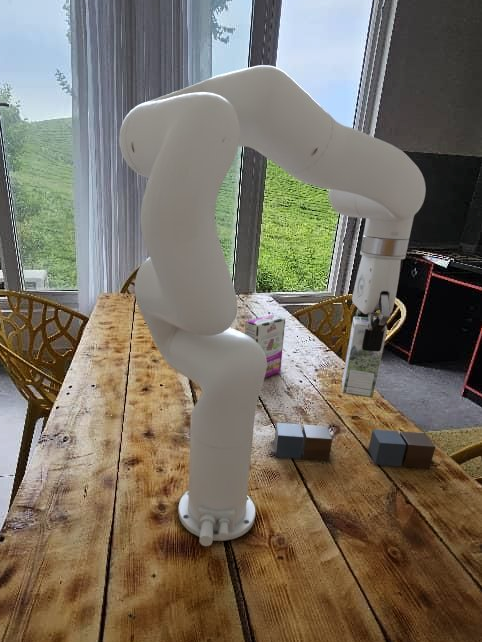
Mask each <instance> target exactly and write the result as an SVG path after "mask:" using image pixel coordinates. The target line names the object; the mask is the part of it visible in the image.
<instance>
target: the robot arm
mask: <svg viewBox="0 0 482 642" xmlns="http://www.w3.org/2000/svg"><path fill="white" fill-rule="evenodd" d="M118 137H119V138H118V139H119V141H118V142H119V148H120V152H121V155H122V158H123V159H124V161H125V163H126V164H127V166H128V167H129V168H130V169H131V170H132V171H133V172H135V173H136V174H137V175H139V176H141V177H144V178H147V179H148V180H147V182H146V186H145V190H144V193H143V198H142V202H141V208H140V228H141V233H142V238H143V242H144V244H145V248H146V250H147V253H148V255H149V257H147V258H146V259H145V260H144V261H143V262H142V264H141V265H140V267H139V268H138V270H137V272H136V276H135V280H134V297H135V301H136V304H137V307H138V309H139V312H140V314H141V316H142V318H143V320H144V322H145V324H146V327H147V329H148V331H149V334H151V337H152V339H153V342H154V344H155V346H156V348H157V350H158V352H159V353H160V356H161V357H162V359H163V360H164V361H165V363H166V364H167V365H168V366H169V367H170V368H171V369H173V370H174V371H175V372H176V373H178V374H180V375H181V376H183V377H185V378H187V379H189V380H190V381H191V382H193V383H194V384H196V385H197V387H199V388H200V396H199V398H198V400H197V401H196V403H195V404H194V406H193V408H192V411H191V415H190V421H189V422H190V425H189V426H190V427H189V431H190V432H189V460H188V463H189V464H188V470H189V471H188V491H186V492H185V493H184V494H183V495H182V497H180V500H179V504H178V508H177V509H178V511H177V512H178V513H177V514H178V519H179V520H180V522H181V525H183V527H184V528H185V529H186V530H187V531H188V532H189V533H191V534H193V535H195V536H196V537H198V538H199V539H198V540H199V541H198V542H199V544H200V545H201V546H203V547H210V546H211V545H212V544H213V541H214V542H215V541H217V542H225V541H230V540H234V539H238V538H239V537H242V536H243V535H245V534H246V533H248V532H249V531H250V530H251V529H252V527H253V525H254V523H255V519H256V506H255V504H254V502H253V500H252V498H251V497H250V496H249V495H248V493H249V482H250V471H251V461H252V449H253V438H254V428H255V427H254V426H255V417H256V411H257V404H258V401H259V397H260V393H261V390H262V387H263V384H264V381H265V379H266V378H265V374H266V369H267V360H266V356H265V353H264V351H263V349H262V348H261V346H260V345H259V344H258V343H257V342H256V341H255V340H254V339H252V338H251V337H249V336H248V335H246V334H245V332H242V331H240V330H237V329H235V328H233V327H231V326H232V325H233V323H234V322H235V319H236V317H237V314H238V298H237V293H236V289H235V286H234V282H233V280H232V276H231V273H230V270H229V267H228V264H227V260H226V257H225V253H224V250H223V247H222V244H221V241H220V238H219V234H218V229H217V226H216V206H217V200H218V196H219V193H220V191H221V188H222V185H223V183H224V181H225V178H226V177H227V175H228V173H229V171H230V169H231V167H232V166H233V163H234V161H235V159H236V156H237V154H238V150H239V148H240V147H241V148H242V147H247V148H249V149H252V150H255V151H256V152H258V153H259V154H261V155H262V156H263V157H265V158H266V159H268V160H269V161H271V162H272V163H274V165H277V167H280V168H281V169H282V170H283V171H285V172H286V173H287V174H289V175H290V176H292V177H293V178H294V179H296V180H298V181H299V182H301V183H304V184H307V185H310V186H314V187H317V188H320V189H321V188H322V189H327V190H328V201H329V204H330V206H331V208H332V209H333V210H334V212H336V213H337V214H339V215H342V216H344V217H349V218H357V219H365V224H364V229H363V233H362V234H363V235H362V239H361V240H362V241H361V246H360V252H359V255H361V259H360V262H359V266H358V270H357V274H356V277H355V278H356V280H355V283H354V288H353V292H352V297H351V301H352V302H351V303H353V305H354V306H355V307H357V309H356V312H355V316H356V317H365V318H368V329H365V334H364V340H363V345H362V349H363V350H364V351H380V350H381V345H382V340H383V336H384V331H385V329H386V327H387V324H388V321H389V320H390V318H391V314H392V313H393V311H394V310H393V309H394V305H395V301H396V297H397V292H398V285H399V280H400V279H399V278H400V272H401V261H402V260H405V259H406V256H407V251H408V246H409V243H410V242H409V241H410V236H411V233H412V232H411V231H412V227H413V223H414V218H415V215H416V214H417V213H418V212H419V211H420V209H421V208H422V206H423V204H424V201H425V198H426V191H427V189H426V188H427V187H426V181H425V178H424V176H423V173H422V171H421V170H420V168H419V167H418V165H417V164H416V163H415V162H414V161H413V160H412V159H411V158H410V156H409V155H407V154H406V153H405V152H404V151H403V150H401V149H400V148H398V147H396V146H395V145H393V144H391V143H389V142H387V141H384V140H382V139H380V138H377V137H375V136H372V135H370V134H368V133H364V132H363V131H361V130H359V129H356V128H353V127H350V126H348V125H345V124H342V123H341V122H339V121H338V120H336V119H335V118H334V117H333V116H332V115H331V114H330V113H329V112H328V111H327V110H326V109H324V107H322V106H321V105H320V104H319V103H318V101H316V100H315V98H313V97H312V96H311V95H310V94H309V93H308V92H307V91H306V90H305V89H304V88H302V86H301V85H299V84H298V83H297V82H296V81H295V80H294V79H293V78H292V77H291V76H290V75H288V74H287V72H285V71H284V70H282V69H281V68H279V67H276V66H273V65H268V64H267V65H265V64H263V65H255V66H251V67H246V68H242V69H239V70H234V71H230V72H226V73H221V74H218V75H215V76H212V77H210V78H207V79H204V80H202V81H199V82H197V83H195V84H193V85H189V86H186V87H184V88H182V89H179V90H176V91H173V92H171V93H168V94H165V95H161V96H159V97H157V98H154V99H151V100H148V101H145V102H142V103H140V104H138V105H136V106H134V107H133V108H132V109H131V110H130V111H129V112H128V113H127V114H126V116H125V117H124V119H123V121H122V123H121V126H120V129H119V136H118ZM375 311H379V312H375ZM373 318H374V319H375V321H374V322H373Z"/></svg>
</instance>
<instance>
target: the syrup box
mask: <svg viewBox="0 0 482 642" xmlns="http://www.w3.org/2000/svg"><path fill="white" fill-rule="evenodd" d="M375 319H376V318H375V317H373V322H374V321H375ZM365 329H368V318H365V317H356V315H354V316H353V317H352V323H351V329H350V335H349V339H348V345H347V351H346V355H345V362H344V367H343V373H342V378H341V387H342V389H341V390H342V394H345V395H350V396H356V397H364V398H372V399H373V398H374V394H375V388H376V384H377V379H378V375H379V371H380V366H381V360H382V356H383V351H384V347H385V343H386V338H387V333H388V327H387V326H386V329H385V331H384V336H383V340H382V345H381V350H380V351H364V350H363V349H362V345H363V340H364V334H365Z"/></svg>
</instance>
